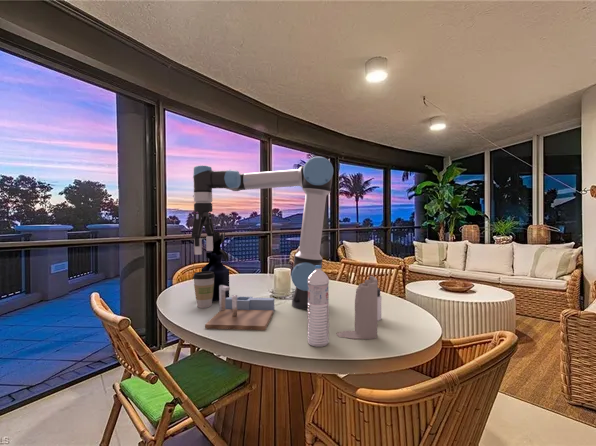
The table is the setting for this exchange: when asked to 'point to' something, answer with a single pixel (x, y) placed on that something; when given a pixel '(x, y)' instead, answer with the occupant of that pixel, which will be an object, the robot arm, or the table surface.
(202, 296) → the coffee cup
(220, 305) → the bracket
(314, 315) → the water bottle
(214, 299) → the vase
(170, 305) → the table surface
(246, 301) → the link
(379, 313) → the jar
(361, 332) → the metal bookend
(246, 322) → the board
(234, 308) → the pintle
